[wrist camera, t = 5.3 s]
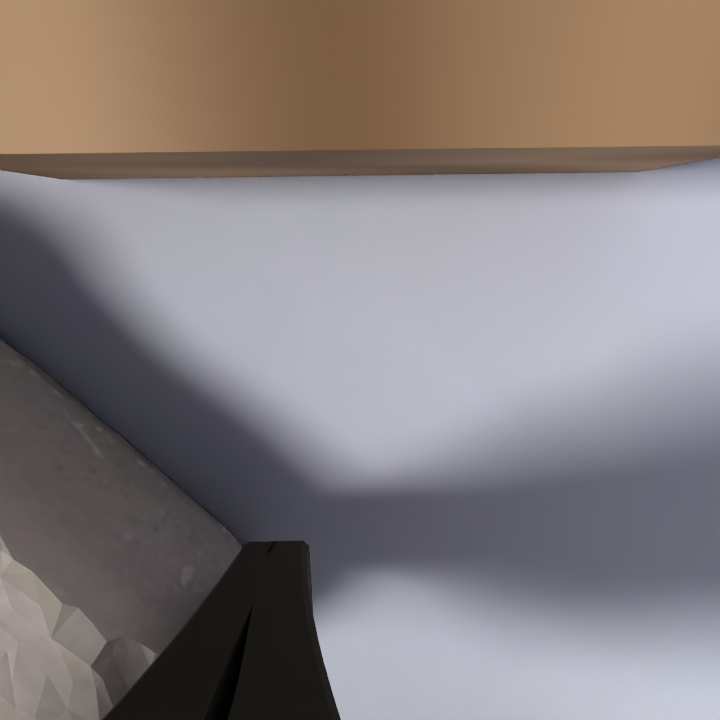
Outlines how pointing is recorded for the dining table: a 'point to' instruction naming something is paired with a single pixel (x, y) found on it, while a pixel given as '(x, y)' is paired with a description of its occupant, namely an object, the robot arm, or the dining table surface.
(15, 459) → the stone block
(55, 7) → the pair of wooden bars
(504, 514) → the dining table surface
